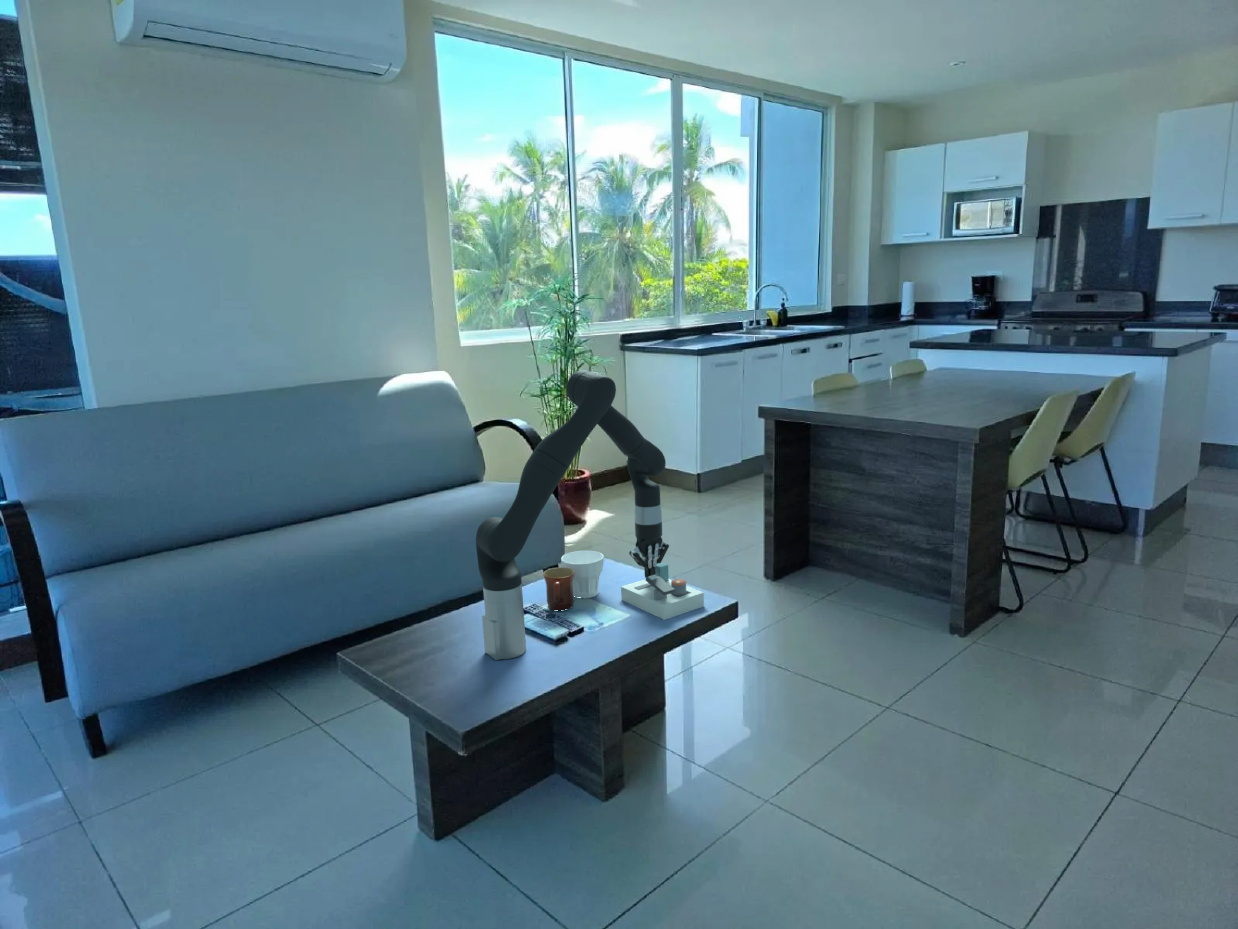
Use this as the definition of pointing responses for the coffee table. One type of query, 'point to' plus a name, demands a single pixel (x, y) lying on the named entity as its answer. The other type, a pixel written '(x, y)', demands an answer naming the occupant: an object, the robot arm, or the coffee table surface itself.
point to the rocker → (660, 584)
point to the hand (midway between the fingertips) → (650, 579)
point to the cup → (584, 571)
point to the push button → (679, 587)
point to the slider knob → (662, 571)
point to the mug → (559, 588)
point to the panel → (661, 599)
